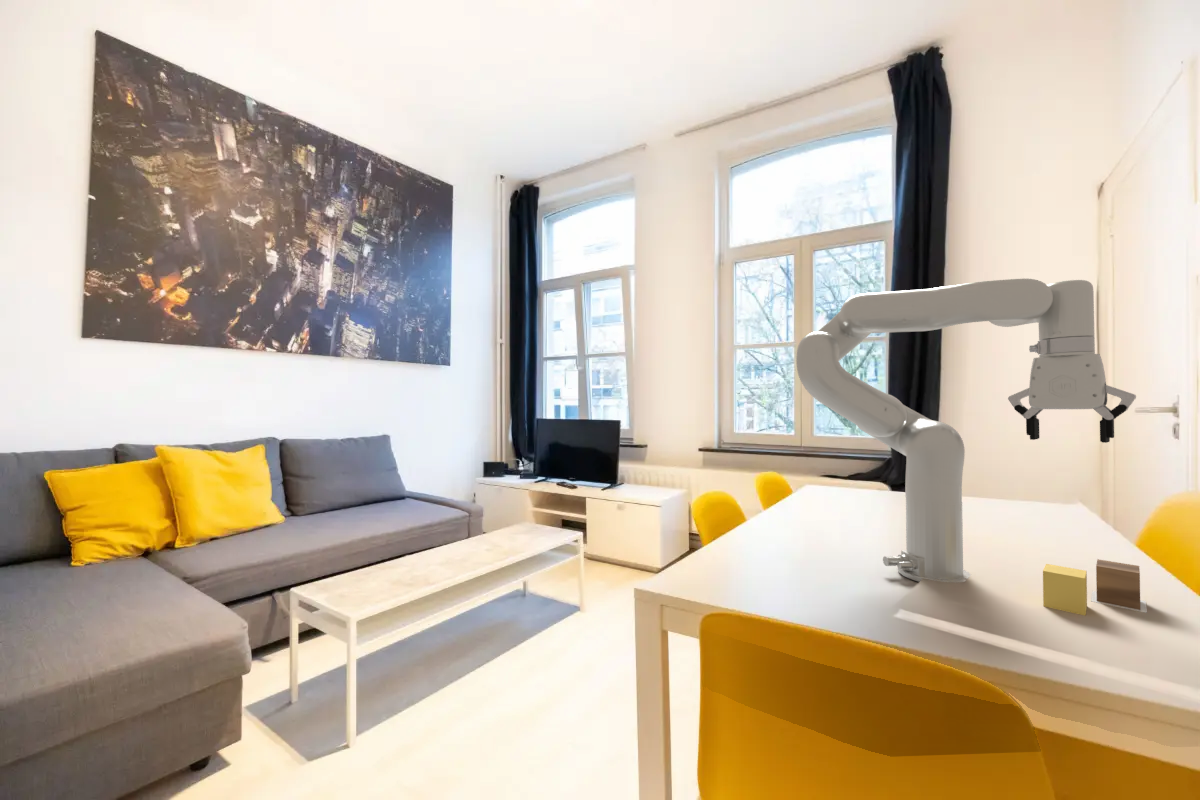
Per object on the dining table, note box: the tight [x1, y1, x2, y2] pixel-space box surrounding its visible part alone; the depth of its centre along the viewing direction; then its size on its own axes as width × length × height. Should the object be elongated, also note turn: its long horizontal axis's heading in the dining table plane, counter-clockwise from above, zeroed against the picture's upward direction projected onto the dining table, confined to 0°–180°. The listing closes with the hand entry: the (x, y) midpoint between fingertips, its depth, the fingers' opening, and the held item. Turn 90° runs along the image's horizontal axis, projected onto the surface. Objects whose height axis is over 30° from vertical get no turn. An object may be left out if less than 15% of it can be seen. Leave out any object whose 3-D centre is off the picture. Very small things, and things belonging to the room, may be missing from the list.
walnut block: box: [1095, 558, 1141, 610], centre depth 83 cm, size 5×5×6 cm
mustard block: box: [1042, 563, 1088, 616], centre depth 82 cm, size 5×5×6 cm
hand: (1068, 440), depth 91 cm, fingers open, 9 cm apart
